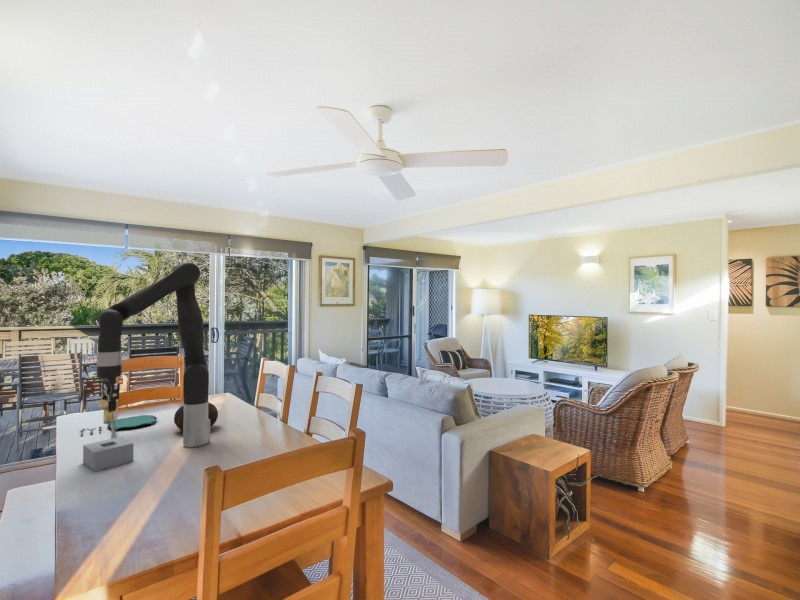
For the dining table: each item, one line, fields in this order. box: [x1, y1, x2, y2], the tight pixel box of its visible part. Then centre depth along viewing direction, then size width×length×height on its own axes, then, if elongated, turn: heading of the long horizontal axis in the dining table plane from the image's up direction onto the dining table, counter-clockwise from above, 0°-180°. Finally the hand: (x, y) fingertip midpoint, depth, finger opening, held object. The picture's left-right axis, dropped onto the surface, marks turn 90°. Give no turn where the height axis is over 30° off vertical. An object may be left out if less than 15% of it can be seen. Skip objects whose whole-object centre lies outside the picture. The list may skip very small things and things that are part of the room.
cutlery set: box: [80, 414, 157, 437], centre depth 192 cm, size 20×30×2 cm, turn 127°
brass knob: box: [98, 398, 119, 425], centre depth 149 cm, size 6×6×8 cm
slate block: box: [82, 436, 134, 472], centre depth 149 cm, size 12×12×6 cm
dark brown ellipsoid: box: [173, 401, 219, 432], centre depth 187 cm, size 18×18×28 cm
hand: (108, 409), depth 149 cm, fingers closed on brass knob, 5 cm apart
